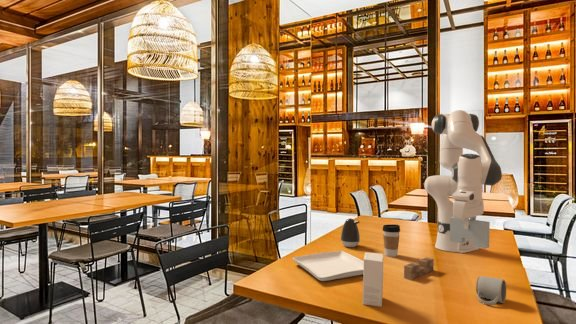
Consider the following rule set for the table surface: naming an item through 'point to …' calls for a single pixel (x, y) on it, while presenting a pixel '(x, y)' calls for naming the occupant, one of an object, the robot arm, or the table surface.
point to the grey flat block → (470, 232)
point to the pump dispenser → (350, 233)
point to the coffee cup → (391, 239)
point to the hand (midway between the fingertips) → (469, 227)
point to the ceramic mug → (491, 289)
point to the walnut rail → (418, 268)
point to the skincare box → (373, 279)
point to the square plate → (331, 265)
